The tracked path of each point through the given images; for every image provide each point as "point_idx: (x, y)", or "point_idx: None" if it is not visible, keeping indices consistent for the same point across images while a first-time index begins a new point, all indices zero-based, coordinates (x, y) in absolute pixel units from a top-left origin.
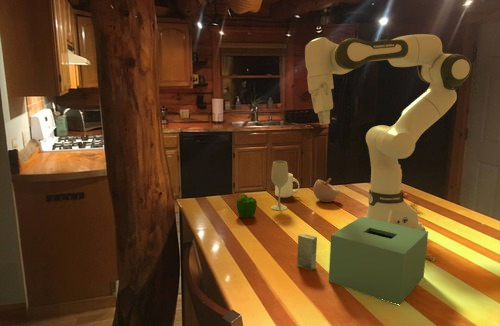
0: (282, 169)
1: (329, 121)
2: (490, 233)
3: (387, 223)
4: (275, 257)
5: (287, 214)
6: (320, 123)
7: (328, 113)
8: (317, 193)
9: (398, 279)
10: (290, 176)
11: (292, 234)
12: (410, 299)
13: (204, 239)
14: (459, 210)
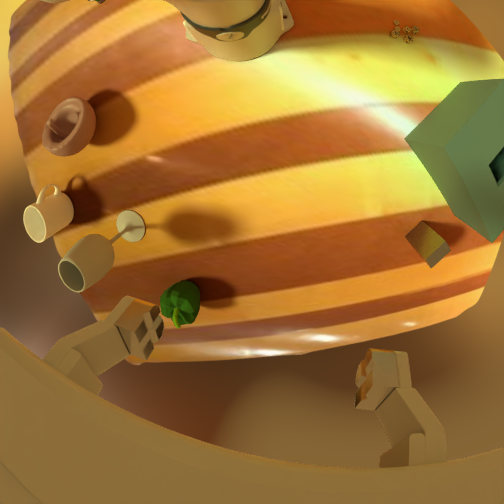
0: (94, 265)
1: (408, 363)
2: None
3: (477, 118)
4: (377, 269)
5: (167, 214)
6: (158, 337)
7: (433, 433)
8: (84, 146)
9: None
10: (40, 211)
11: (285, 224)
12: None
13: (292, 349)
14: None
